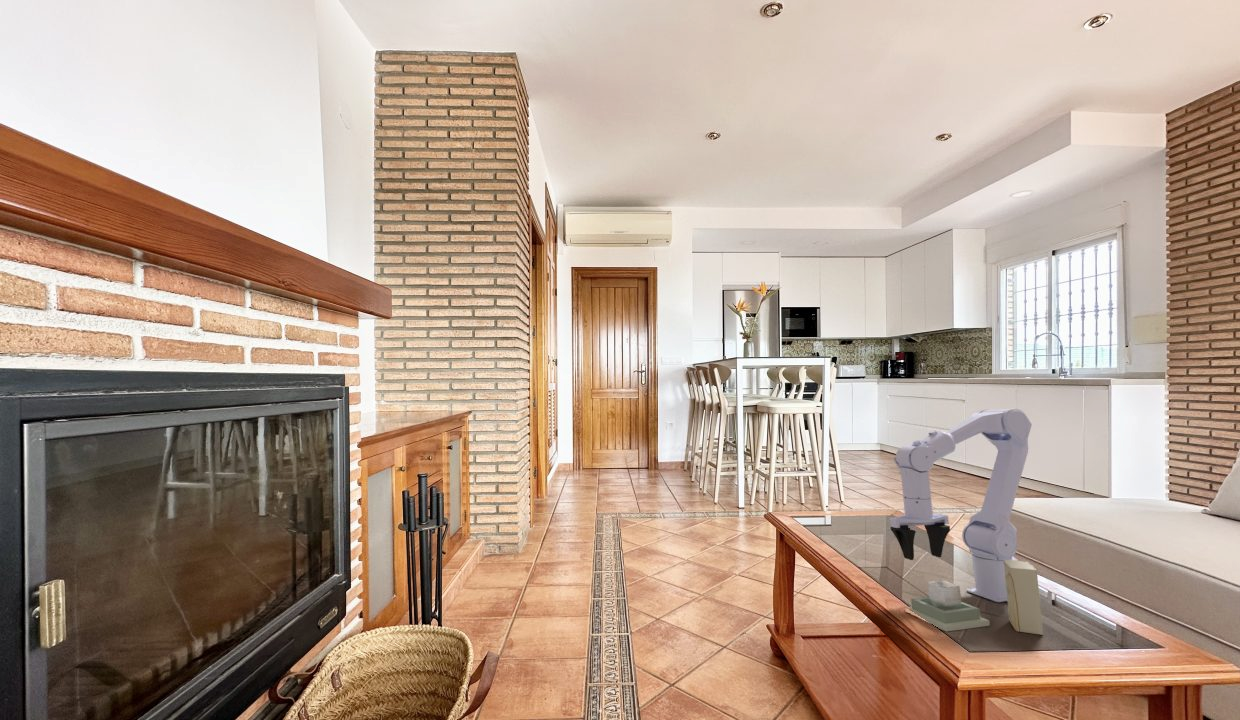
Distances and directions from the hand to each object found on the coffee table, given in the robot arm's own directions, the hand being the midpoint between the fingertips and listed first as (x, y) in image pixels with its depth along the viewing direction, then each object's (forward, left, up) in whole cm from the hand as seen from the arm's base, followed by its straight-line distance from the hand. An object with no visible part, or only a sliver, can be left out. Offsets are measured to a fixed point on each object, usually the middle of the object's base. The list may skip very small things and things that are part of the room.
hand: (922, 557), depth 116 cm
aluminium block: (+5, +10, -8) cm, 14 cm away
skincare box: (-6, +18, -10) cm, 21 cm away
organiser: (+5, +10, -9) cm, 15 cm away
